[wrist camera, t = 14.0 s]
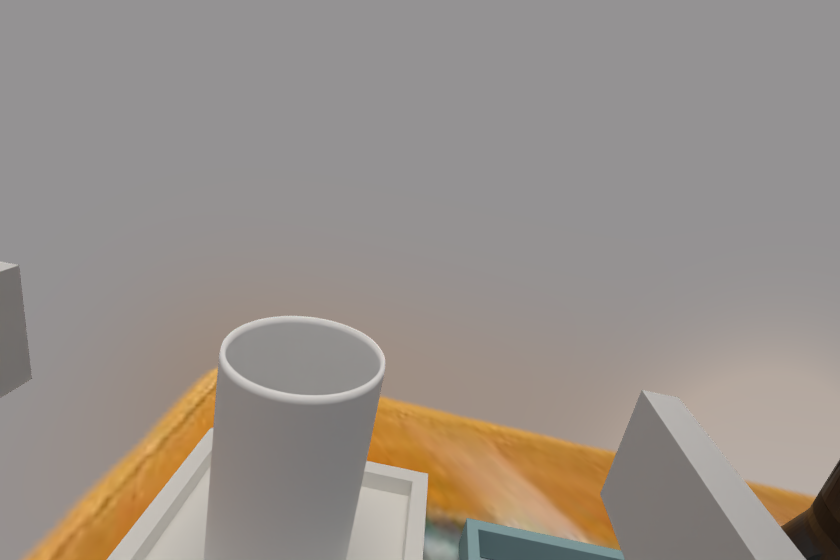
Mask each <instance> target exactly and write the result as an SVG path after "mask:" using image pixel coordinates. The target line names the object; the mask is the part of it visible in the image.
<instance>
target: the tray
mask: <svg viewBox="0 0 840 560" xmlns="http://www.w3.org/2000/svg"><path fill="white" fill-rule="evenodd" d="M213 429H214V428H210V429H209V431H208V432H207V433H206V435H205V436H204V437H203V438H202V440H201V441H200V442H199V443H198V445H197V446H196V447H195V448H194V450H193V451H192V452H191V454H190V455H189V456H188V457H187V459H186V460H185V461H184V462H183V464H182V465H181V466H180V467H179V469H178V470H177V471H176V473H175V474H174V475H173V476H172V478H171V479H170V480H169V481H168V483H167V484H166V485H165V486H164V488H163V489H162V490H161V492H160V493H159V494H158V495H157V497H156V498H155V499H154V500H153V502H152V503H151V504H150V505H149V507H148V508H147V509H146V511H145V512H144V513H143V514H142V516H141V517H140V518H139V519H138V521H137V522H136V523H135V524H134V526H133V527H132V528H131V529H130V531H129V532H128V533H127V535H126V536H125V537H124V538H123V540H122V541H121V542H120V543H119V545H118V546H117V547H116V548H115V550H114V551H113V552H112V554H111V555H110V556H109V557H108V559H107V560H204V548H205V535H206V521H207V508H208V495H209V482H210V468H211V455H212V442H213ZM427 485H428V474H426V473H421V472H417V471H412V470H407V469H403V468H398V467H393V466H388V465H384V464H379V463H374V462H370V461H366V465H365V470H364V475H363V479H362V484H361V489H360V494H359V499H358V504H357V509H356V513H355V518H354V523H353V528H352V533H351V538H350V542H349V547H348V552H347V557H346V560H423V547H424V532H425V516H426V501H427Z"/></svg>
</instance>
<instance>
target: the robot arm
mask: <svg viewBox="0 0 840 560" xmlns="http://www.w3.org/2000/svg"><path fill="white" fill-rule="evenodd" d="M30 379H32V376H31V368H30V358H29V349H28V340H27V332H26V323H25V314H24V305H23V296H22V288H21V278H20V269H19V265H15V264H10V263H5V262H0V398H1V397H2V396H4V395H6V394H8V393H9V392H11V391H12V390H14V389H16V388H17V387H19V386H21V385H22V384H24V383H25V382H27V381H29V380H30ZM600 495H601V497H602V500H603V503H604V505H605V508H606V511H607V513H608V516H609V519H610V521H611V524H612V526H613V529H614V532H615V534H616V537H617V540H618V542H619V545H620V548H621V550H622V553H623V556H624V558H625V560H840V460H839V462H838V463H837V465H836V466H835V468H834V469H833V471H832V473H831V474H830V476H829V478H828V479H827V481H826V482H825V484H824V486H823V487H822V489H821V491H820V492H819V494H818V496H817V497H816V499H815V501H814V502H813V504H812V505H811V507H810V508H809V509H808V510H806V511H805V512H803V513H802V514H800V515H799V516H797V517H795V518H794V519H792V520H791V521H789V522H788V523H786V524H785V525H783V526H781V527H780V526H779V524H778V523H777V522H776V521H775V519H774V518H773V517H772V516H771V514H770V513H769V512H768V510H767V509H766V508H765V507H764V505H763V504H762V503H761V502H760V500H759V499H758V498H757V496H756V495H755V494H754V493H753V491H752V490H751V489H750V488H749V486H748V485H747V484H746V482H745V481H744V480H743V479H742V477H741V476H740V475H739V474H738V472H737V471H736V470H735V468H734V467H733V466H732V465H731V463H730V462H729V461H728V460H727V458H726V457H725V456H724V454H723V453H722V452H721V451H720V449H719V448H718V447H717V446H716V444H715V443H714V442H713V440H712V439H711V438H710V437H709V435H708V434H707V433H706V432H705V430H704V429H703V428H702V426H701V425H700V424H699V423H698V421H697V420H696V419H695V418H694V416H693V415H692V414H691V412H690V411H689V410H688V409H687V407H686V406H685V405H684V404H683V402H682V401H681V400H680V399H679V398H678V397H674V396H669V395H663V394H659V393H654V392H649V391H644V390H642V391H641V393H640V396H639V398H638V401H637V403H636V406H635V409H634V411H633V414H632V416H631V419H630V421H629V423H628V426H627V428H626V431H625V434H624V436H623V439H622V441H621V443H620V446H619V448H618V451H617V453H616V456H615V458H614V461H613V463H612V466H611V468H610V471H609V474H608V476H607V479H606V481H605V484H604V486H603V489H602V491H601V494H600Z"/></svg>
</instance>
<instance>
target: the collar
mask: <svg viewBox="0 0 840 560" xmlns="http://www.w3.org/2000/svg"><path fill="white" fill-rule="evenodd" d="M480 557H483V558H488V559H493V560H625V558H624V556H623V553H622V551H620V550H615V549H611V548H606V547H601V546H596V545H592V544H587V543H582V542H578V541H573V540H568V539H563V538H559V537H554V536H549V535H545V534H540V533H535V532H530V531H526V530H521V529H516V528H512V527H507V526H502V525H498V524H493V523H488V522H483V521H479V520H474V519H469V518H467V519H466V522H465V526H464V529H463V532H462V536H461V539H460V542H459V560H480Z"/></svg>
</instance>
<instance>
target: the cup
mask: <svg viewBox="0 0 840 560" xmlns="http://www.w3.org/2000/svg"><path fill="white" fill-rule="evenodd" d="M384 372H385V357H384V354H383V352H382V350H381V349H380V347H379V346H378V345H377V344H376V343H375V342H374V341H373V340H372V339H371V338H370V337H368V336H367V335H365V334H363V333H362V332H360V331H358V330H356V329H354V328H352V327H349V326H347V325H344V324H341V323H338V322H334V321H330V320H326V319H321V318H315V317H305V316H278V317H270V318H264V319H259V320H256V321H252V322H249V323H246V324H244V325H242V326H240V327H238V328H236V329H235V330H233V331H232V332H231V333H230V334H229V335H228V336H227V337H226V338H225V339H224V341H223V343H222V345H221V349H220V354H219V364H218V376H217V389H216V402H215V415H214V429H213V442H212V455H211V468H210V482H209V495H208V508H207V521H206V535H205V548H204V560H346V557H347V552H348V547H349V542H350V538H351V533H352V528H353V523H354V518H355V513H356V509H357V504H358V499H359V494H360V489H361V484H362V479H363V475H364V470H365V465H366V460H367V455H368V450H369V446H370V441H371V436H372V431H373V426H374V421H375V417H376V412H377V407H378V402H379V397H380V392H381V387H382V382H383V377H384Z"/></svg>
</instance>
